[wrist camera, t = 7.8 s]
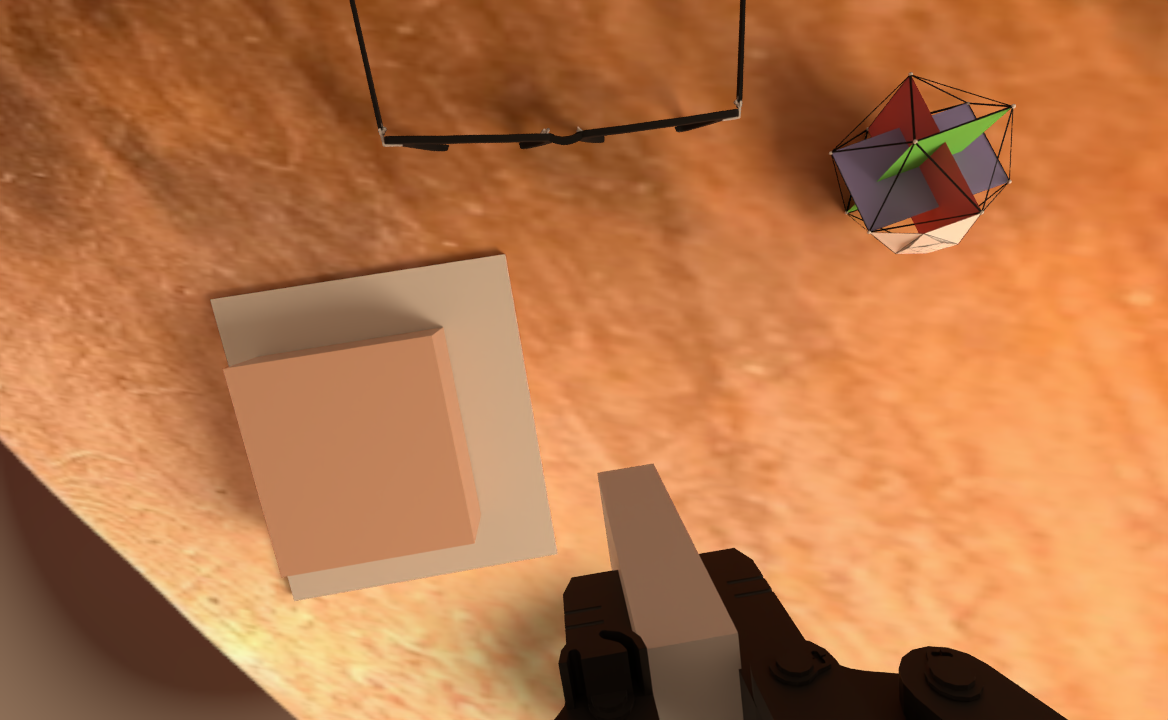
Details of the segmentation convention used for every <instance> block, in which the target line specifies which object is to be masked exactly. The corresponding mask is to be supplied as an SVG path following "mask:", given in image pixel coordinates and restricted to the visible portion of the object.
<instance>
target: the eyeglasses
mask: <svg viewBox="0 0 1168 720" xmlns="http://www.w3.org/2000/svg"><path fill="white" fill-rule="evenodd" d="M745 4H746V0H740V21H739V47H738V72H737V98H736V100H735V101H734V104H735V105H736V107H737V108H738V109H733V110H726V111H719V112H713V113H707V114H700V115H694V116H688V117H680V118H673V119H665V120H658V121H651V122H644V123H637V124H630V125H623V126H615V127H606V128H598V129H591V130H584V131H583V130H582V129H581V128H580V127H579V126H577V129H578V130H577V132H576V133H575V134H573V135H570V136H563V137H561V136H555V135H554V134H551V133H548V132H549V130H550V129H549V128H547V129H546V130H545V129H543V130H542V131H541V133H540V134H509V135H453V136H386V137H384V135H385V132H386V131H387V129H386V127H383V124H382V119H381V115H380V111H379V106H378V102H377V97H376V93H375V89H374V84H373V80H372V75H371V71H370V66H369V62H368V58H367V53H366V49H365V44H364V40H363V36H362V31H361V27H360V22H359V18H358V13H357V9H356V5H355V0H350V5H351V9H352V14H353V18H354V23H355V27H356V32H357V36H358V41H359V45H360V50H361V54H362V59H363V63H364V68H365V72H366V77H367V81H368V85H369V90H370V94H371V99H372V103H373V108H374V112H375V117H376V121H377V126H378V130H379V131H378V132H379V134H380V137H381V140H382V144H383V146H385V147H387V146H403V147H410V148H416V149H423V150H430V151H447V150H448V147H449V145H443V144H458V143H510V142H521V143H519V145H520V148H521V149H528V148H533V147H538V146H542V145H546V144H549V143H552V142H553V143H556V144H560V145H569V144H573V143H576V142H578V141H582V142H589V143H602V142H604V136H606V135H614V134H623V133H630V132H637V131H644V130H651V129H658V128H666V127H673V126H676V127H675V129H676V131H677V132H683V131H688V130H692V129H696V128H699V127H703V126H706V125H710V124H713V123H716V122H720V121H727V120H734V119H739V118H740V116H741V107H742V104H743V103H742V93H743V64H744V34H745Z"/></svg>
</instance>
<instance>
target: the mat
mask: <svg viewBox="0 0 1168 720" xmlns="http://www.w3.org/2000/svg"><path fill="white" fill-rule="evenodd" d="M210 301H211V305H212V308H213V312H214V315H215V319H216V322H217V326H218V330H219V333H220V337H221V340H222V344H223V348H224V351H225V355H226V358H227V362H228V365H229V366H232V365H235V364H238V363H241V362H244V361H246V360H249V359H252V358H255V357H258V356H264V355H271V354H277V353H283V352H289V351H296V350H302V349H308V348H315V347H321V346H327V345H334V344H340V343H346V342H352V341H359V340H365V339H371V338H378V337H384V336H390V335H396V334H403V333H409V332H415V331H422V330H428V329H434V328H441V327H444V332H445V337H446V342H447V347H448V352H449V357H450V362H451V367H452V372H453V376H454V381H455V386H456V391H457V396H458V401H459V406H460V411H461V416H462V421H463V426H464V431H465V436H466V441H467V446H468V451H469V456H470V461H471V466H472V471H473V476H474V481H475V486H476V491H477V496H478V501H479V506H480V511H481V518H480V523H479V527H478V531H477V535H476V540H475V543H474V544H469V545H463V546H457V547H452V548H446V549H440V550H435V551H429V552H423V553H418V554H412V555H406V556H401V557H395V558H389V559H384V560H378V561H372V562H367V563H361V564H355V565H350V566H344V567H338V568H333V569H327V570H321V571H316V572H310V573H304V574H299V575H293V576H287V577H288V580H289V584H290V587H291V591H292V595H293V598H294V601H298V600H303V599H309V598H314V597H320V596H326V595H331V594H337V593H342V592H348V591H354V590H359V589H365V588H370V587H376V586H382V585H387V584H393V583H398V582H404V581H410V580H415V579H421V578H427V577H432V576H438V575H443V574H449V573H455V572H460V571H466V570H471V569H477V568H483V567H488V566H494V565H499V564H505V563H511V562H516V561H522V560H527V559H533V558H539V557H544V556H550V555H555V554H557V546H556V540H555V535H554V529H553V523H552V517H551V512H550V506H549V500H548V495H547V489H546V483H545V478H544V472H543V466H542V460H541V455H540V449H539V443H538V438H537V432H536V426H535V421H534V415H533V409H532V403H531V398H530V392H529V386H528V381H527V375H526V369H525V364H524V358H523V352H522V346H521V341H520V335H519V329H518V324H517V318H516V312H515V307H514V301H513V295H512V289H511V284H510V278H509V272H508V267H507V261H506V255H505V254H503V255H496V256H490V257H483V258H477V259H470V260H464V261H457V262H451V263H444V264H438V265H431V266H425V267H418V268H412V269H405V270H399V271H392V272H386V273H379V274H373V275H366V276H360V277H353V278H347V279H340V280H334V281H327V282H321V283H314V284H308V285H301V286H295V287H288V288H282V289H275V290H269V291H262V292H256V293H249V294H243V295H236V296H230V297H223V298H217V299H210Z"/></svg>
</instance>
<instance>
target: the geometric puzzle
mask: <svg viewBox="0 0 1168 720" xmlns="http://www.w3.org/2000/svg"><path fill="white" fill-rule="evenodd" d="M912 76H913V77H915V78H917V77H918V76H914V75H913V73H912V72H910V73H909V76H908V77H907V78H906V79H905V80H904V81H903V82H904V83H903V82H902V83H903V84H902V83H901V84H902V85H901V84H900V85H901V86H900V85H899V86H900V88H899V89H898V90H897V92H896V93H895V94H894V95H893V97H892V98H891V99H890V101H889V102H888V103H887V104H886V106H885V107H884V108H883V110H882V111H881V112H880V114H879V115H878V116H877V117H876V119H875V120H874V121H873V123H872V124H871V125H870V126H869V127H868V128H867V129H866V130H865V131H863V132H862V133H860V134H859V135H857V136H855V137H854V138H852V139H850V140H849V141H847V142H846V143H844V144H842V145H841V146H839V145H840V144H841V143H842V142H843V141H844V140H845V139H846V138H847V137H848V136H849V135H850V134H851V133H852V132H853V131H854V130H855V129H856V128H857V127H858V126H859V125H860V124H861V123H862V122H863V121H864V120H865V119H866V118H867V117H868V116H869V115H870V114H871V113H872V112H873V111H874V110H875V109H876V108H877V107H878V106H879V105H880V104H881V103H883V102H884V101H885V100H886V99H887V98H888V97H889V96H890V95H891V94H892V93H893V92H894V91H895V90H896V89H897V88H898V87H899V86H898V87H897V88H896V89H895V90H894V91H893V92H892V93H891V94H890V95H889V96H888V97H887V98H886V99H885V100H884V101H883V102H881V103H880V104H879V105H878V106H877V107H876V108H875V109H874V110H873V111H872V112H871V113H870V114H869V115H868V116H867V117H866V118H865V119H864V120H863V121H862V122H861V123H860V124H859V125H858V126H857V127H856V128H855V129H854V130H853V131H852V132H851V133H850V134H849V135H848V136H847V137H846V138H845V139H844V140H843V141H842V142H841V143H840V144H839V145H838V146H839V147H838V146H837V147H838V148H837V147H836V148H835V149H834V150H833V151H830V152H829V154H830V155H831V156H832V159H834V160H833V163H834V161H835V163H836V165H837V167H838V169H839V171H840V173H841V175H842V177H843V180H844V182H845V184H846V186H847V188H848V190H849V192H850V194H851V195H850V198H849V202H848V206H847V210H846V208H845V214H849V213H851V212H854V211H856V210H858V211H859V213H860V215H861V217H862V219H863V220H862V219H860V218H858V217H855V216H853V215H851V214H849V215H851V216H853V217H855V218H858V219H860V220H862V221H864V224H865V226H866V228H867V230H868V231H867V233H868V234H871V235H873V236H874V237H875V238H876V239H878V240H879V241H880V242H881V243H883V244H884V245H885V246H886V247H888V248H889V249H890V250H891V251H893V252H894V253H895V254H915V253H929V252H933V251H936V250H940V249H943V248H947V247H950V246H954V245H957V244H959V242H960V241H961V240H962V239H963V237H964V236H965V235H966V233H967V232H968V231H969V229H970V228H971V227H972V225H973V224H974V223H975V221H976V220H977V219H978V217H979V216H980V215H981V214H984V210H985V209H986V208H987V207H988V206H989V204H990V203H991V202H992V201H993V200H994V199H995V198H996V197H995V198H994V199H993V200H992V201H991V202H990V203H989V204H988V206H987V207H986V208H985V209H984V206H985V202H986V200H988V199H989V198H990V197H991V196H993V195H994V194H995V193H996V192H998V191H999V190H1000V189H1001V188H1002V187H1005V186H1006V185H1007V184H1008V183H1011V180H1010V172H1009V178H1008V176H1007V174H1006V173H1005V171H1004V169H1003V167H1002V165H1001V163H1000V161H999V159H998V158H999V155H1000V151H1001V148H1002V144H1003V141H1004V138H1005V134H1006V131H1007V127H1008V124H1009V121H1010V117H1011V114H1012V124H1013V108H1015V107H1016V105H1015V104H1012V105H1008V104H1005V103H1002V104H1005V105H996V104H982V103H970V102H966V101H964V100H962V99H960V98H958V97H956V96H954V95H952V94H950V93H948V92H945V91H943V90H941V89H939V88H937V87H935V86H933V85H931V84H929V83H927V82H925V81H923V80H921V79H924V78H921V77H918V78H917V79H919V78H921V79H919V80H921V81H923V82H925V83H927V84H929V85H931V86H933V87H935V88H937V89H939V90H941V91H943V92H945V93H947V94H949V95H951V96H953V97H955V98H957V99H959V100H961V101H963V102H965V103H963V104H960V105H956V106H952V107H948V108H945V109H941V110H937V111H933V112H930V111H929V109H928V107H927V105H926V103H925V102H924V100H923V98H922V96H921V94H920V92H919V90H918V88H917V86H916V84H915V82H914V80H913V78H912ZM925 80H927V79H925ZM928 81H930V80H928ZM931 82H934V81H931ZM934 83H937V82H934ZM937 84H940V83H937ZM941 85H943V84H941ZM944 86H947V85H944ZM947 87H950V86H947ZM950 88H953V87H950ZM953 89H956V88H953ZM957 90H959V89H957ZM960 91H963V90H960ZM963 92H966V91H963ZM966 93H969V92H966ZM970 94H972V93H970ZM973 95H976V94H973ZM976 96H979V95H976ZM979 97H982V96H979ZM982 98H985V97H982ZM986 99H988V98H986ZM989 100H992V99H989ZM992 101H995V100H992ZM995 102H998V101H995ZM999 103H1001V102H999ZM969 104H975V105H988V106H1001V107H1007V108H1004V109H1002V110H999V111H996V112H993V113H990V114H988V115H985V116H982V117H979V118H976V116H975V115H974V113H973V111H972V109H971V107H970V105H969ZM1011 108H1012V109H1011ZM948 109H949V110H948ZM1010 109H1011V113H1010V116H1009V119H1008V123H1007V126H1006V130H1005V133H1004V137H1003V140H1002V143H1001V147H1000V150H999V154H998V157H997V156H996V154H995V152H994V150H993V148H992V146H991V144H990V143H989V141H988V139H987V137H986V135H985V133H984V131H986V130H987V129H988V128H989V127H990V126H991V125H992V124H994V123H995V122H996V121H997V120H998V119H999V118H1000V117H1002V116H1003V115H1004V114H1005V113H1006V112H1007V111H1008V110H1010ZM945 110H947V111H945ZM941 111H944V112H941ZM937 112H941V113H938V114H935V115H933V116H932V115H931V114H933V113H937ZM866 131H867V132H866ZM864 132H866V136H865V139H864V140H863V141H861V142H858V143H855V144H852V145H850V146H847V147H844V148H841V149H839V148H840V147H842V146H844V145H845V144H847V143H848V142H850V141H852V140H853V139H855V138H856V137H858V136H860V135H861V134H863V133H864ZM868 132H869V133H870V135H871V137H872V138H869V139H866V138H867V134H868ZM1011 145H1012V130H1011ZM837 149H838V150H837ZM1010 166H1011V151H1010ZM834 167H835V164H834ZM835 171H836V168H835ZM836 175H837V172H836ZM837 179H838V176H837ZM838 183H839V180H838ZM1004 183H1006V184H1005V185H1003V186H1002V187H1001V188H1000V189H998V190H997V191H996V192H995V193H994V194H992V195H991V196H990V197H989V198H987V196H988V192H989V189H990V188H993V187H996V186H999V185H1001V184H1004ZM839 187H840V184H839ZM1003 189H1004V188H1003ZM1003 189H1002V190H1003ZM985 190H988V191H987V195H986V198H985V201H984V202H983V203H984V205H983V208H982V210H981V209H980V207H979V206H980V205H982V204H983V203H981V204H980V205H978V204H977V202H976V200H975V198H974V196H973V195H974V194H976V193H979V192H982V191H985ZM1002 190H1001V191H1002ZM840 191H841V188H840ZM1001 191H1000V192H1001ZM1000 192H999V193H1000ZM999 193H998V194H999ZM998 194H997V195H998ZM841 195H842V192H841ZM997 195H996V196H997ZM851 197H852V198H853V200H854V203H855V205H854V206H853V207H852V208H851V209H850V210H849V211H848V209H849V205H850V201H851ZM842 199H843V196H842ZM843 203H844V200H843ZM844 207H845V204H844ZM983 209H984V210H983ZM851 216H850V217H851ZM910 217H911V218H912V220H913V222H914V224H909V225H903V226H897V227H892V228H886V229H882V227H885V226H888V225H891V224H893V223H896V222H899V221H902V220H905V219H907V218H910ZM851 218H852V217H851ZM852 219H853V218H852ZM857 223H858V222H857ZM858 224H859V223H858ZM859 225H860V224H859ZM911 225H915V226H916V228H917V230H918V232H919V233H891V232H889V231H887V230H888V229H894V228H900V227H905V226H911ZM863 228H864V227H863ZM864 229H865V228H864ZM877 229H880V230H877ZM865 230H866V229H865ZM874 230H875V231H874ZM882 230H885V231H887V232H889V233H874V232H877V231H882Z"/></svg>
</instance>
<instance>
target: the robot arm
mask: <svg viewBox="0 0 1168 720" xmlns="http://www.w3.org/2000/svg"><path fill="white" fill-rule="evenodd" d="M598 480H599V487H600V493H601V500H602V507H603V514H604V521H605V527H606V534H607V541H608V548H609V555H610V561H611V567H612V571H607V572H601V573H596V574H590V575H584V576H578V577H572V578H571V580H570V582H569V584H568V586H567V588H566V590H565V592H564V594H563V600H564V614H565V615H564V616H565V629H566V630H565V632H566V645H565V646H564V648H563V649H562V650H561V654H560V659H559V663H558V664H559V669H560V675H561V680H562V686H563V692H564V697H565V705H564V707H563V709H562V710H561V712H560V713H559V715H558V716H557V717H556V718H555V719H554V720H1067V719H1066V718H1065V717H1063V716H1062V715H1060V714H1059V713H1057V712H1056V711H1054V710H1053V709H1052V708H1050V707H1049V706H1047V705H1046V704H1044V703H1043V702H1041V701H1040V700H1038V699H1037V698H1036V697H1034V696H1033V695H1031V694H1030V693H1028V692H1027V691H1025V690H1024V689H1023V688H1021V687H1020V686H1018V685H1017V684H1015V683H1014V682H1012V681H1011V680H1010V679H1008V678H1007V677H1005V676H1004V675H1002V674H1001V673H999V672H998V671H996V670H995V669H994V668H992V667H991V666H989V665H988V664H986V663H984V662H982V661H981V660H979V659H977V658H975V657H973V656H971V655H969V654H967V653H964V652H960V651H957V650H954V649H950V648H946V647H931V646H927V647H923V648H918V649H913V650H911V651H910V652H909V653H907V654H906V655H905V656H903V657H902V659H901V663H900V666H899V674H897V673H885V672H872V671H863V670H856V669H850V668H847V667H844V666H841V665H839V663H838V662H837V660H836V659H835V658H834V657H833V656H832V655H831V654H830V653H829V652H828V651H827V650H826V649H824V648H822V647H820V646H818V645H816V644H814V643H812V642H810V641H806V640H805V639H804V637H803V636H802V634H801V633H800V631H799V630H798V628H797V627H796V625H795V624H794V622H793V621H792V619H791V617H790V616H789V614H788V613H787V611H786V610H785V608H784V607H783V605H782V604H781V602H780V601H779V599H778V598H777V596H776V595H775V593H774V592H772V590H771V587H770V586H769V584H768V583H767V581H766V580H765V579H764V578H763V575H762V574H761V572H760V570H759V569H758V567H757V566H756V564H755V563H754V561H753V560H752V559H751V558H749V557H747V556H746V555H744V554H743V553H741V552H740V551H738V550H737V549H735V548H731V549H725V550H719V551H713V552H707V553H702V554H698V552H697V550H696V548H695V546H694V544H693V542H692V540H691V538H690V536H689V534H688V532H687V530H686V528H685V526H684V524H683V522H682V520H681V518H680V516H679V514H678V512H677V510H676V508H675V506H674V504H673V502H672V500H671V498H670V496H669V494H668V492H667V490H666V488H665V486H664V484H663V482H662V480H661V478H660V476H659V474H658V472H657V470H656V468H655V466H654V464H648V465H642V466H636V467H630V468H624V469H618V470H612V471H606V472H600V473H598Z"/></svg>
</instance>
